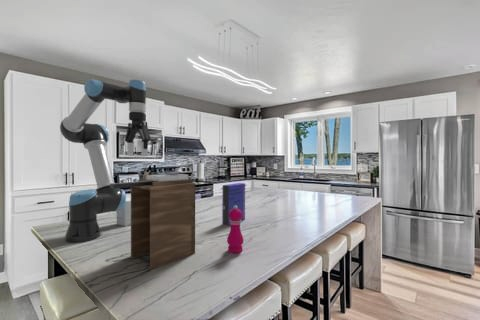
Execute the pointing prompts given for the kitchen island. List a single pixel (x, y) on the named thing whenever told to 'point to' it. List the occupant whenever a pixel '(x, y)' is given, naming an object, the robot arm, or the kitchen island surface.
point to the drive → (152, 180)
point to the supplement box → (124, 214)
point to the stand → (163, 220)
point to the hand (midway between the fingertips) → (137, 155)
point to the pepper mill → (235, 231)
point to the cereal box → (233, 200)
